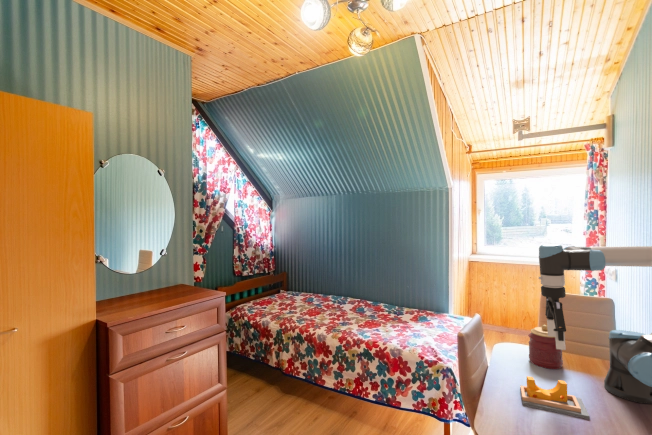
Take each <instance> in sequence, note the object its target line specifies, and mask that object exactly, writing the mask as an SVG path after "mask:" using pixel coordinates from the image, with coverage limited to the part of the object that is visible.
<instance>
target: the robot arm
mask: <svg viewBox="0 0 652 435" xmlns="http://www.w3.org/2000/svg"><path fill="white" fill-rule="evenodd" d="M538 263H539V274H540V276H538V279H539V280H540V285H541V286H540V292H541V294H540V295H541V296H542V297H544V298H545V317H546V324H547V329H548V336H550V337H555V339H556V349H561V350H562V351H566V349H567V348H566V347H567V346H566V334H565V332H567V328H566V321H565V316H564V315H565V314H564V310H563V308H564V307H563V302H560V299H563V298H565V297H566V287H565V286H566V280H565V271H586V272H588V271H591V272H594V271H604V270H605V268H606V267H643V268H645V267H647V268H648V267H650V268H651V267H652V246H651V245H648V246H647V245H644V246H641V245H640V246H638V245H636V246H634V245H633V246H627V245H626V246H574V245H571V246H570V245H569V246H565V247H564V248H563V245H561V244H542V245H540V246H539V248H538ZM608 341H609V342H608V344H609V348H608V349H609V351H608V352H609V368H608V371H607V372H606V375H605V378H604V384H603V386H604V389H605V390H606V391H608V392H609V393H611V394H613V395H614V396H617V397H618V398H621V399H624V400H628V401H630V402H634V403H640V404H649V405H650V404H652V332H651V333H650V334H646V333H643V332H638V331H631V330H625V329H623V330H622V329H612V330H610V331H609V335H608Z"/></svg>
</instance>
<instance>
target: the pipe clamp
mask: <svg viewBox="0 0 652 435" xmlns="http://www.w3.org/2000/svg"><path fill="white" fill-rule="evenodd" d="M526 386H527V394H528V396H529V397H532V398H537V399H542V400H547V401H551V400H554V401H561V402H567V394H568V383H567V382H566V381H565V380H561V379H558V380H557V384H556V385H555V386H554V387H553V388H549V389H545V388H541V387H539V386H538V385H537V384H536V381H535V379H534V377H533V376H526Z"/></svg>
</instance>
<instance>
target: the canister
mask: <svg viewBox="0 0 652 435" xmlns="http://www.w3.org/2000/svg"><path fill="white" fill-rule="evenodd" d="M528 337H529V341H528V353H529V354H528V359H529V362H530V363H531V364H533V365H535V366H537V367H539V368H543V369H548V370H559V369H561V368H563V365H564V360H563V350H561V349H556V339H555V337H550V336H548V329H547V325H546V324H543V325H541V326H535V327H534V328H531V329H530V332H529V334H528Z"/></svg>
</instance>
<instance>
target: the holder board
mask: <svg viewBox="0 0 652 435" xmlns="http://www.w3.org/2000/svg"><path fill="white" fill-rule="evenodd" d="M519 390H520V395H521V396H520V397H521V402H522V405H523V406H526V407H531V408H535V409H538V410H539V409H540V410H544V411H548V412H552V413H553V412H554V413H558V414H563V415H568V416H571V417H577V418H581V419H586V420H591V418H590V414H589V412H588V410H587V407H586V406H585V403H584V401H583V400H582V398H581V397H576V395H572V394H568V393H567V402H561V401H554V400H551V401H547V400H542V399H537V398H532V397H529V396H528V394H527V385H520V386H519Z"/></svg>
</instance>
